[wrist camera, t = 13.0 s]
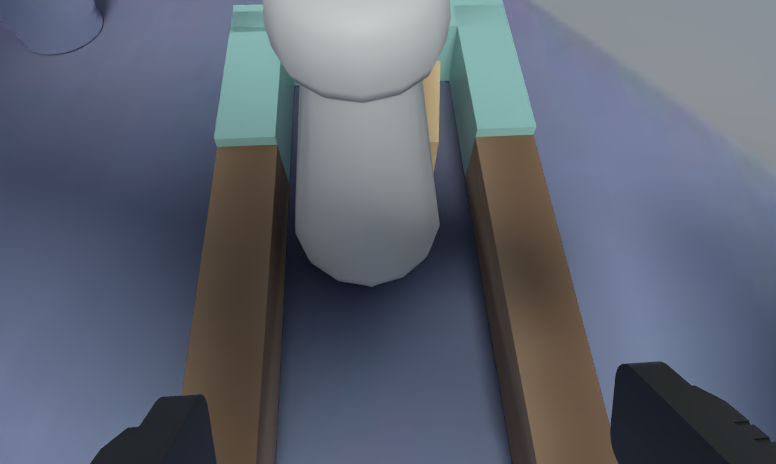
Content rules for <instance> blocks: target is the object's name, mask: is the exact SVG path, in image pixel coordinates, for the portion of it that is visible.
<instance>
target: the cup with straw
mask: <svg viewBox="0 0 776 464" xmlns="http://www.w3.org/2000/svg"><path fill="white" fill-rule="evenodd" d="M0 22H1V23H2V24H3V25H4V26H5V27H6V28H7V29H8V30H9V31H11V32H12V33H13V34H15V35H17V36H18V37H20V39H21V42H22V43H23V45H24V46H25V47H26V48H27V49H29V50H30V51H33V52H35V53H39V54H47V55H52V54H61V53H66V52H70V51H73V50H76V49H78V48H80V47H82V46H84V45H85V44H87V43H89V42H90V41H91V40H92V39H94V38H95V37H96V36H97V34H98V33H99V32H100V30H101V28H102V25H103V17H102V15H101V13H100V11H99V10H98V9H97V8H96V7H95V0H0Z"/></svg>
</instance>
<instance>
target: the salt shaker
mask: <svg viewBox="0 0 776 464" xmlns="http://www.w3.org/2000/svg"><path fill="white" fill-rule="evenodd" d="M263 15H264V26H265V29H266V32H267V35H268V38H269V41H270V44H271V47H272V49H273V50H274V52H275V54H276V55H277V57H278V58H279V60H280V62H281V63H282V65H283V66H284V68H285V70H286V71H287V73H288V74H289V75H290V77H291V78H292V80H293V81H294V82H296V83H298V84H299V114H298V143H297V172H296V201H295V233H296V235H297V237H298V239H299V241H300V243H301V245H302V247H303V249H304V251H305V253H306V255H307V257H308V259H309V260H310V262H311V263H312V264H313V265H315V266H316V267H318V268H319V269H321V270H322V271H324V272H325V273H327V274H329V275H330V276H332V277H333V278H335V279H336V280H338V281H341V282H347V283H354V284H360V285H366V286H369V287H373V286H375V285H377V284H381V283H385V282H388V281H392V280H396V279H399V278H403V277H404V276H405V275H406V274H408V273H409V272H410V271H411V270H412V269H414V268H415V267H416V266H417V265H418V264H419V263H421V262H422V261H423V260H424V259H425V258H426V257H427V255H428V253H429V251H430V249H431V246H432V244H433V241H434V239H435V236H436V234H437V231H438V229H439V226H440V222H439V214H438V207H437V199H436V190H435V182H434V173H433V165H432V156H431V147H430V139H429V130H428V122H427V113H426V105H425V96H424V87H423V80H424V79H425V78H427V77H428V76H429V75H430V73H431V71H432V69H433V67H434V65H435V63H436V61H437V59H438V57H439V55H440V53H441V51H442V49H443V47H444V45H445V43H446V40H447V35H448V30H449V25H450V20H451V9H450V0H263Z"/></svg>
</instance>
